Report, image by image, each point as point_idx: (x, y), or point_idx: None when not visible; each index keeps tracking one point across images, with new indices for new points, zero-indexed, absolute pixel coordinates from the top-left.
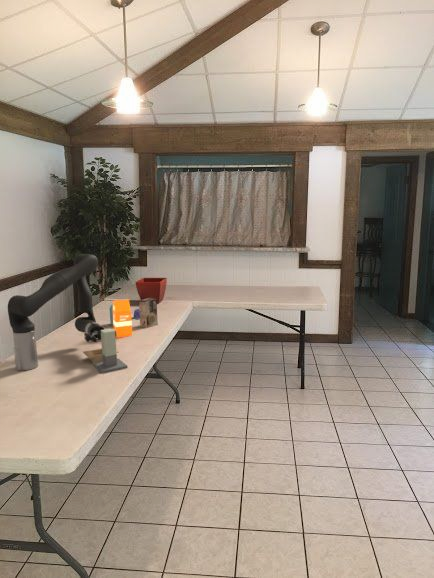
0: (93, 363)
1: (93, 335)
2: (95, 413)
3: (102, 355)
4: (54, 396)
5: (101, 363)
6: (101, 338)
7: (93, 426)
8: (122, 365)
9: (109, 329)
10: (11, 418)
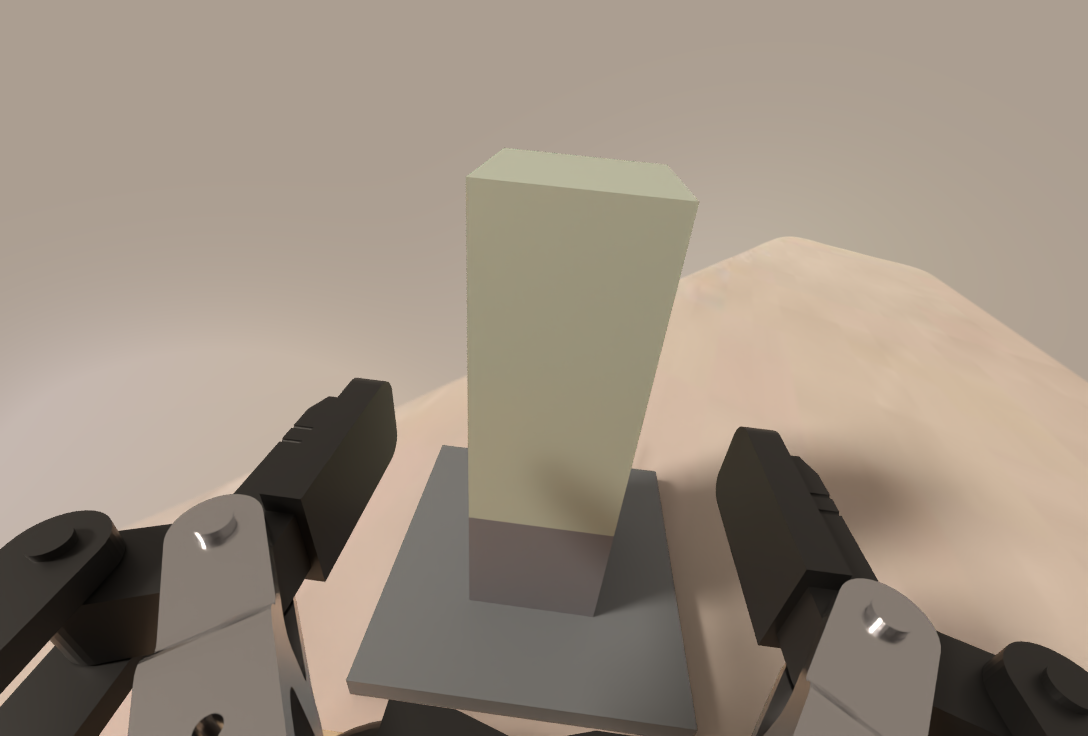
0: (694, 719)
1: (837, 625)
2: (731, 276)
3: (609, 549)
4: (918, 393)
5: (603, 643)
6: (657, 348)
7: (739, 255)
8: (466, 468)
9: (533, 172)
10: (1026, 351)
